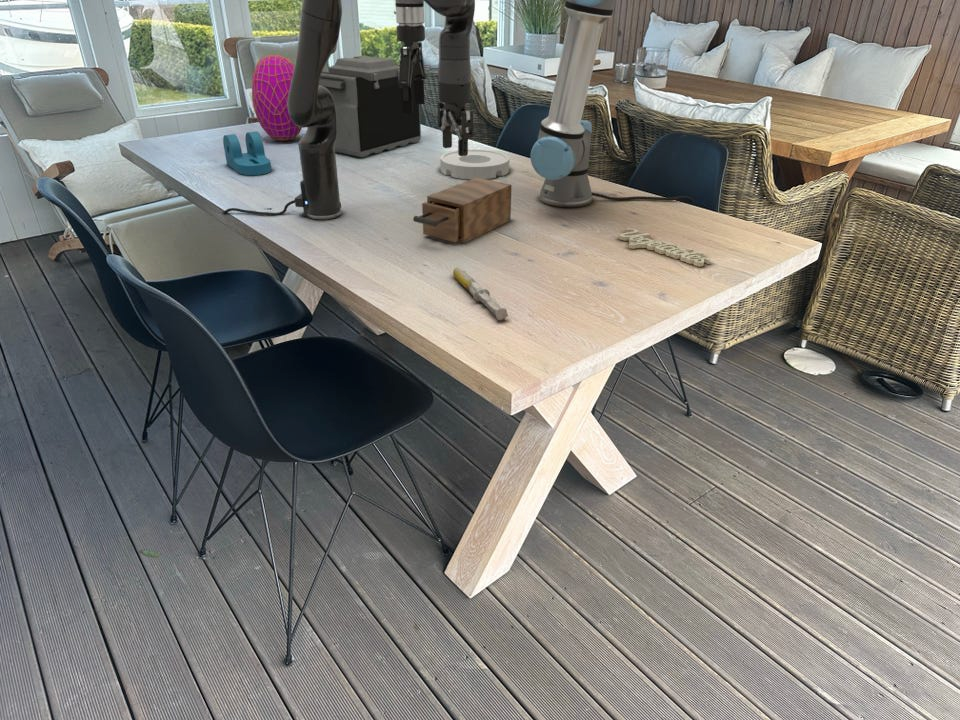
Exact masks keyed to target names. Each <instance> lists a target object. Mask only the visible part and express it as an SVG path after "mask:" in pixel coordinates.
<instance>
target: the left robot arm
mask: <svg viewBox="0 0 960 720" xmlns="http://www.w3.org/2000/svg"><path fill="white" fill-rule="evenodd" d="M424 3H425V4H426V5H428V6H429V7H430V8H431V9H432V10H433V11H435V12H436V13H437V14H439V15H441V16H442V17H445V19H444V27H443V29H442V30H441V31H440V32H439V35H438V66H437V69H438V70H437V79H438V80H437V82H438V83H437V84H438V85H437V87H438V90H437V91H438V102H437V128H440V131H441V132H442V133H441V135H442V147H443V148H444V149H450V148H452V147H453V131H452V130H454V132H456V135H457V138H458V139H457V150H458V155H459V156H467V155H468V149H469V140H470V139H473V138H474V112H473V110H467V107H466V104H467V103H470V102H471V100H472V65H471V33H472V30H473V29H472V28H473V24H474V23H473V22H474V17H475V11H476V0H424ZM300 10H301V11H300V18H299V32H298V40H297V46H296V55H295V62H294V66H295V67H294V72H293V77H292V81H291V85H290V90H289V95H288V102H287V107H288V113H289V116H290V118H291V120H292V122H293V123H294V124H295V125H297V126H299V127H302V128H306V131H305V133H304V135H303V136H302V137H301V138H300V139H299V141H298V152H299V159H300V167H301V175H302V180H301V181H300V183H299V186H300V194H299V195H297V196H295V197H294V200H291V201H288V202H287V203H285V204H284V208H283V210H282V211H279V212H270V211H269V212H267V211H257V210H247V209H242V208H237V207H230V208H227V209H226V210H224V211H222V215H226V214H228V213H229V212H233V211H234V212H240V213H245V214H253V215H260V216H282V215H284V214H285V213H286V212H287V210H288V208H289V206H291V205H292V204H294V205H295V207H296V208H302V209H303V216H304V217H307V218H309V219H313V220H330V219H336V218H338V217H340V216H341V215H342V209H341V208H342V202H341V197H340V189H339V178H338V166H337V158H336V152H335V142H336V138H337V128H336V110H335V103H334V100H333V97H332V95H331V93H330V92H329V90H328V89H326V88H325V87H323V86H320V85H319V80H320V76H321V73H322V72H324V69H325V67H326V65H327V63H328V61H329V59H330V58H331V55H332V53H333V52H334V50H335V48H336V46H337V44H338V41H339V37H340V32H341V24H342V18H343V4H342V0H302V3H301V9H300Z"/></svg>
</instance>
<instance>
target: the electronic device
mask: <svg viewBox="0 0 960 720" xmlns="http://www.w3.org/2000/svg"><path fill="white" fill-rule="evenodd" d="M399 74H400V64H396V62H395V60H394V59H393V58H385V57H377V56H367V55H356V56H353V57H350V58H349V57H343V58H342V57H341V58H337V59H336V60H335V63H334V64H333V65H330V66H329V67H328V72H327V71H322V73H321V76H320V80H319V85H320V86H323V87H325V88H326V89H328V90H329V92H330V93H331V95H332V97H333V100H334V103H335V110H336V128H337V138H336V142H335V153H340V154H344V155H348V156H353V157H357V158H362V159H363V158H366V157H367V158H368V157H369V155H371V154H375V155H377V154H381V153H382V152H383V151H391V150H395V149H396V148H397V147H405V146H407V145H408V144H416V143H418V142H419V141H421V137H422V128H421V104H415V94H414V80H417V79H415V76H414V72H413V73H412V80H411V88H412V101H413V113H403V109H402V89H401V88H398V84H399Z"/></svg>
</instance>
